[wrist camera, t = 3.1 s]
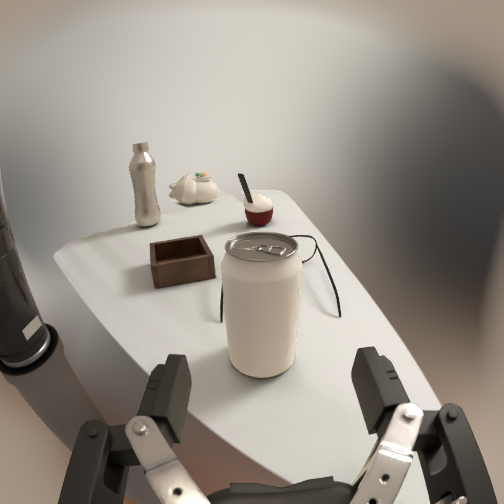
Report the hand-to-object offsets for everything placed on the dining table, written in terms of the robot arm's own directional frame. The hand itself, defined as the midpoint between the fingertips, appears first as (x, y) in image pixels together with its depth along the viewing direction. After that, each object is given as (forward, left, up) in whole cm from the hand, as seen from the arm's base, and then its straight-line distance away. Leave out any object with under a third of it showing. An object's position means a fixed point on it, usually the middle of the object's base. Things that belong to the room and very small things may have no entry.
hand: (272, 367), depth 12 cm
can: (+4, +11, -11) cm, 16 cm away
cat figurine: (+8, +75, -11) cm, 76 cm away
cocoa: (+18, +49, -11) cm, 53 cm away
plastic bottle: (-6, +60, -11) cm, 61 cm away
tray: (-1, +33, -11) cm, 34 cm away
